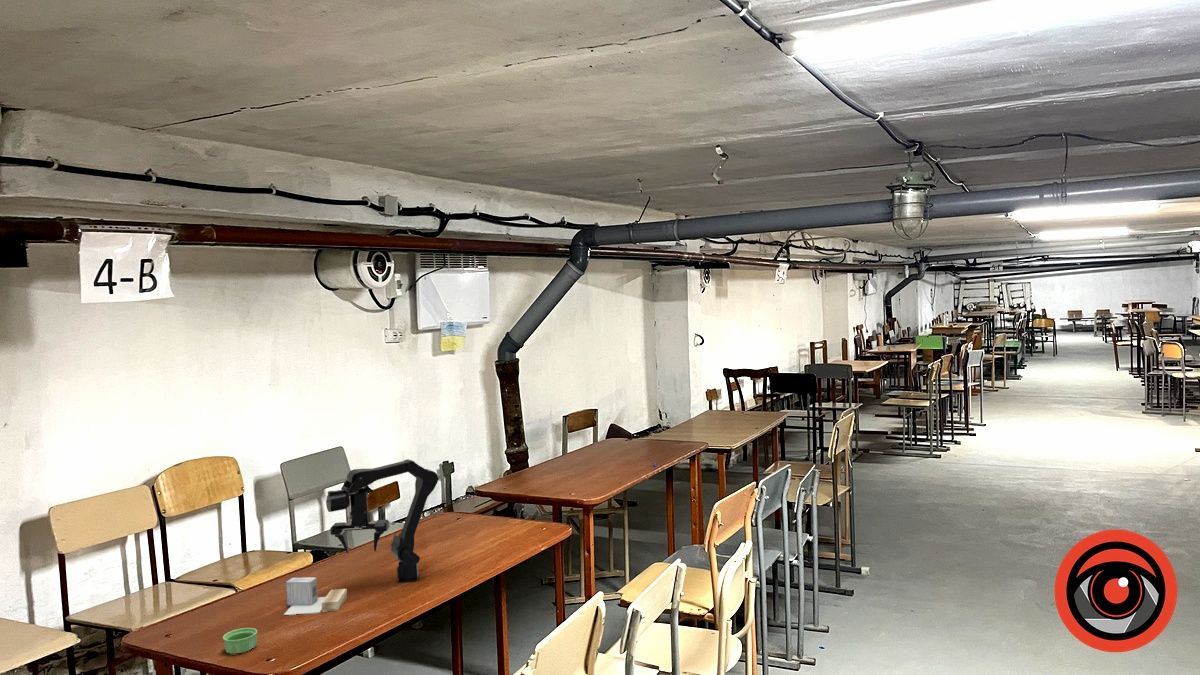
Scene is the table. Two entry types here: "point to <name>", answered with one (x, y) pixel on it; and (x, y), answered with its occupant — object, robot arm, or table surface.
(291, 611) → the mat
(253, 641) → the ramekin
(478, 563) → the table surface
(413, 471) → the robot arm
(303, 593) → the medicine box
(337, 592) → the step block
